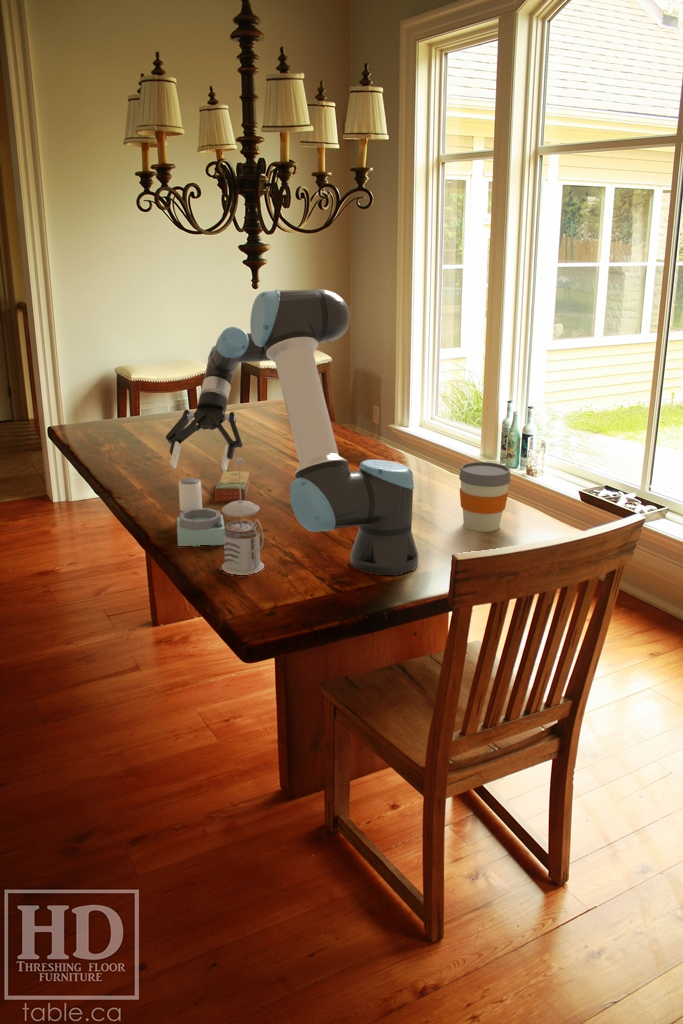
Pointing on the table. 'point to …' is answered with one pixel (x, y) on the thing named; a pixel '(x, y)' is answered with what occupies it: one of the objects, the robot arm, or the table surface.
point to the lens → (190, 494)
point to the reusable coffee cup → (483, 494)
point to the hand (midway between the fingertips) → (198, 467)
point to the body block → (200, 527)
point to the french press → (239, 548)
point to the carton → (232, 486)
